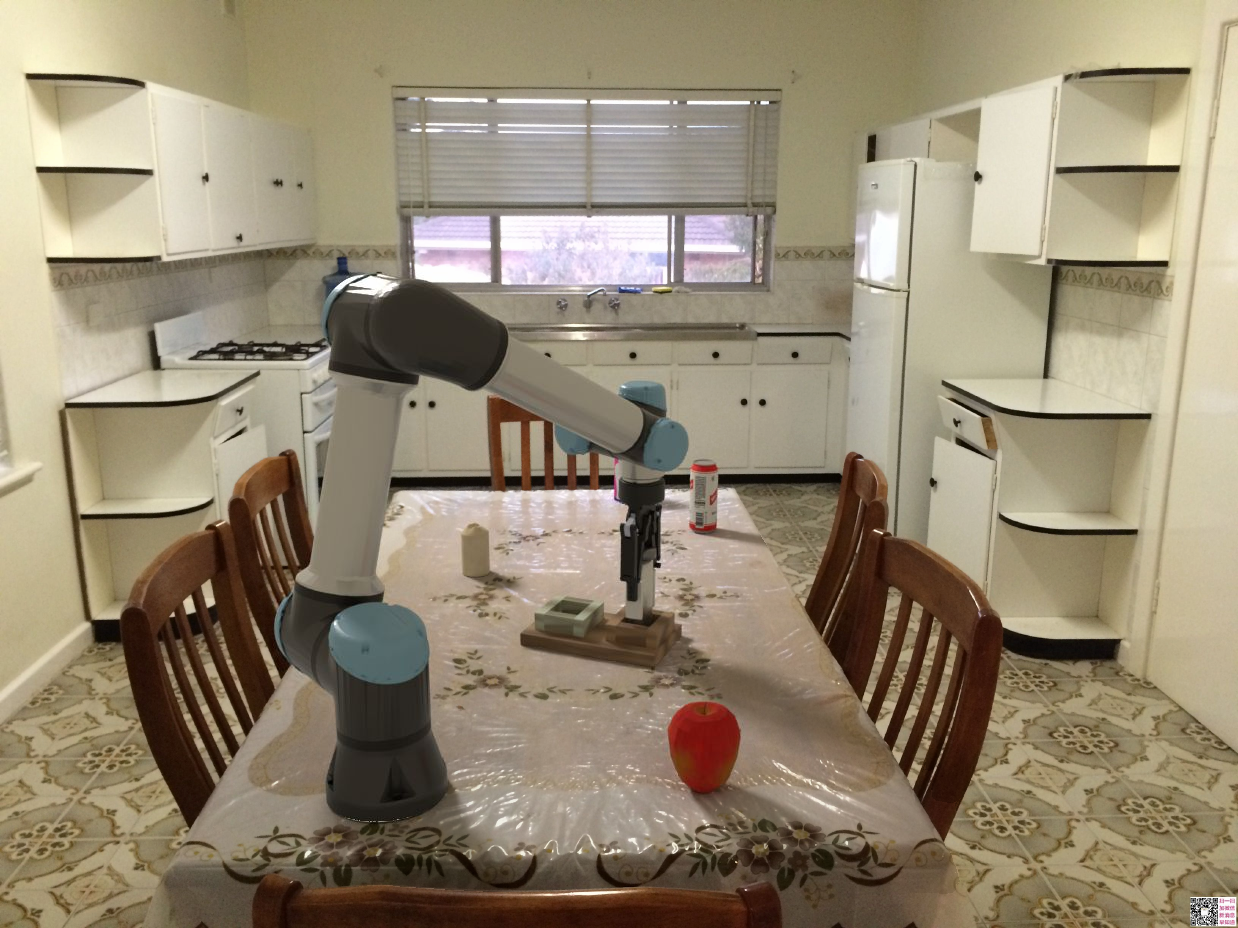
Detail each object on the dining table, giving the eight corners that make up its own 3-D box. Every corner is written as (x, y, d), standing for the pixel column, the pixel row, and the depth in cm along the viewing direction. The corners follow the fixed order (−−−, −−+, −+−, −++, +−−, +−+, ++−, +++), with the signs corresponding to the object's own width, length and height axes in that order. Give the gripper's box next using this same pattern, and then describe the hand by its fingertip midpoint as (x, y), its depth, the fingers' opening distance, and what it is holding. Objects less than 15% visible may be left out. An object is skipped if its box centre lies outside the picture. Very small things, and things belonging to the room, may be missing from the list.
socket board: (653, 667, 171) (654, 638, 169) (520, 644, 179) (519, 616, 178) (681, 635, 183) (682, 608, 182) (555, 614, 192) (555, 588, 191)
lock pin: (649, 642, 175) (650, 555, 171) (621, 638, 177) (621, 551, 173) (659, 631, 180) (660, 546, 176) (631, 627, 181) (632, 542, 178)
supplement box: (645, 501, 264) (645, 456, 261) (624, 504, 261) (625, 459, 258) (633, 495, 268) (633, 451, 266) (613, 499, 266) (613, 454, 263)
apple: (735, 767, 141) (738, 684, 138) (742, 805, 132) (745, 717, 129) (665, 766, 141) (667, 684, 138) (667, 804, 132) (669, 717, 129)
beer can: (686, 532, 239) (687, 464, 235) (692, 524, 245) (694, 457, 241) (713, 535, 237) (715, 466, 233) (719, 527, 243) (721, 459, 239)
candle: (492, 575, 212) (491, 527, 209) (465, 578, 210) (464, 530, 207) (485, 566, 217) (484, 519, 214) (459, 569, 215) (457, 522, 212)
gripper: (643, 493, 162) (642, 635, 168) (681, 466, 178) (679, 595, 184) (598, 488, 165) (598, 628, 170) (640, 462, 181) (639, 590, 187)
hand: (640, 611), depth 177 cm, fingers open, 5 cm apart
